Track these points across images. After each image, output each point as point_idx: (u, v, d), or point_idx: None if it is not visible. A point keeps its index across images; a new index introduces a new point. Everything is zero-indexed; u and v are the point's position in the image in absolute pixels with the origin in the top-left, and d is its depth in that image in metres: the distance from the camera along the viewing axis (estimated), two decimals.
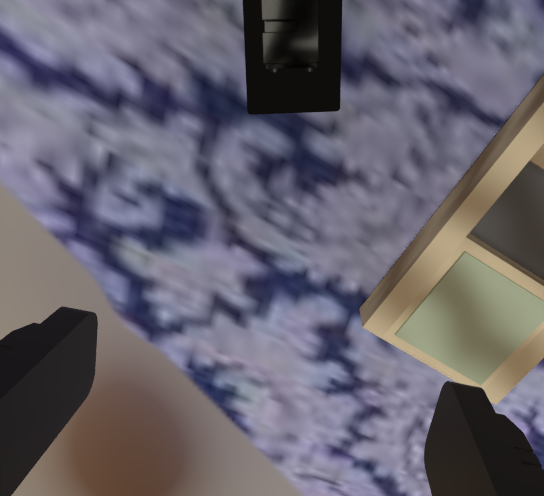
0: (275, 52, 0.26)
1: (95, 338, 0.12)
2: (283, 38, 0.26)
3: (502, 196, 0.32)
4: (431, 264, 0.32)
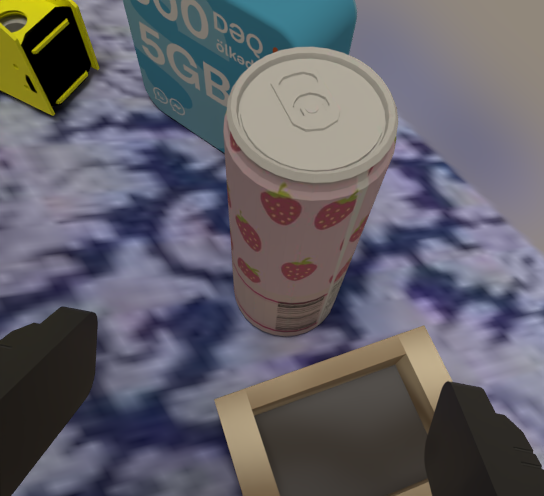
0: None
1: (95, 338, 0.12)
2: None
3: None
4: None
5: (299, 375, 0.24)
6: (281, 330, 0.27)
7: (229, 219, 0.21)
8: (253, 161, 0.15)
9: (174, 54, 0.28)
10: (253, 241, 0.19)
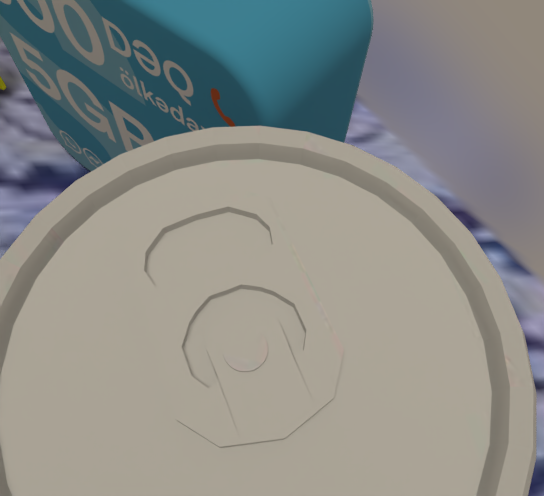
0: None
1: None
2: None
3: None
4: None
5: None
6: None
7: None
8: None
9: (69, 85, 0.17)
10: None
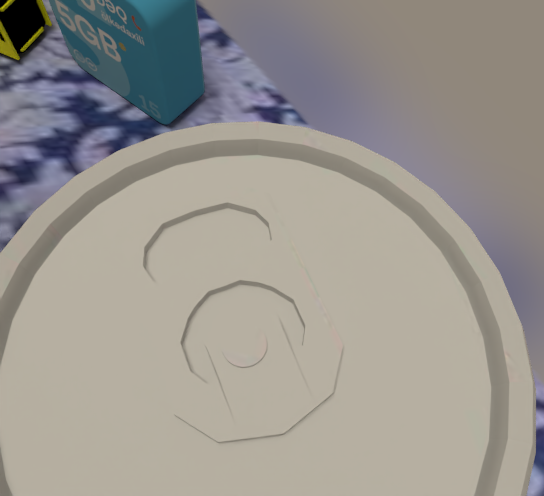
0: None
1: None
2: None
3: None
4: None
5: None
6: None
7: None
8: None
9: (80, 22, 0.39)
10: None
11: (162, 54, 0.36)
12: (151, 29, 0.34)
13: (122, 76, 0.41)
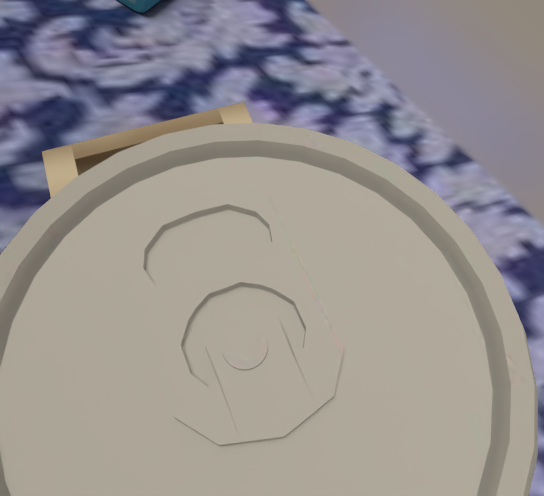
0: None
1: None
2: None
3: None
4: None
5: (122, 135, 0.27)
6: None
7: None
8: None
9: None
10: None
11: None
12: None
13: None
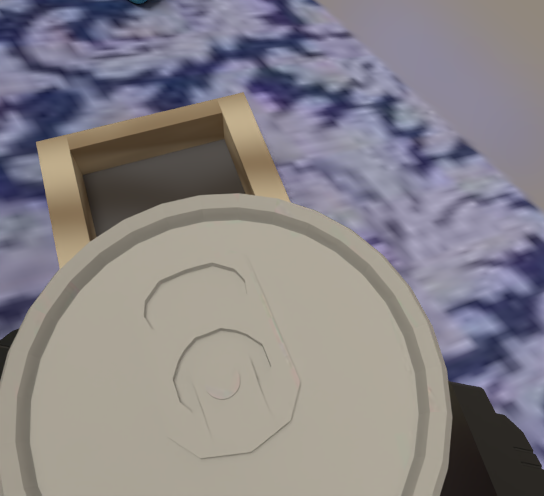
0: None
1: None
2: None
3: None
4: None
5: (119, 126, 0.27)
6: None
7: None
8: None
9: None
10: None
11: None
12: None
13: None
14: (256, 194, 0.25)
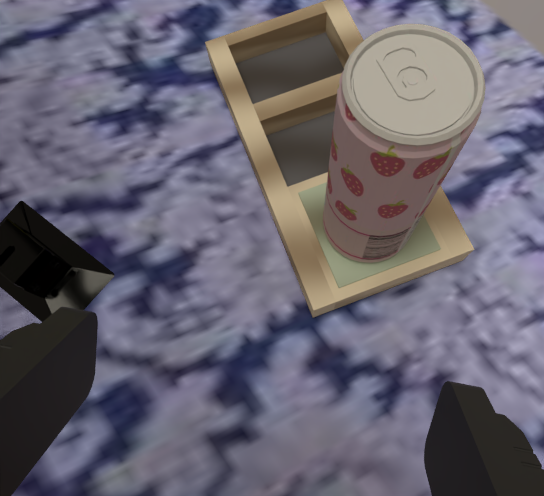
0: (14, 270, 0.32)
1: (95, 338, 0.12)
2: (12, 259, 0.33)
3: (288, 159, 0.38)
4: (292, 222, 0.34)
5: (257, 27, 0.39)
6: (367, 258, 0.31)
7: (329, 168, 0.26)
8: (367, 129, 0.19)
9: None
10: (356, 188, 0.23)
11: None
12: None
13: None
14: None
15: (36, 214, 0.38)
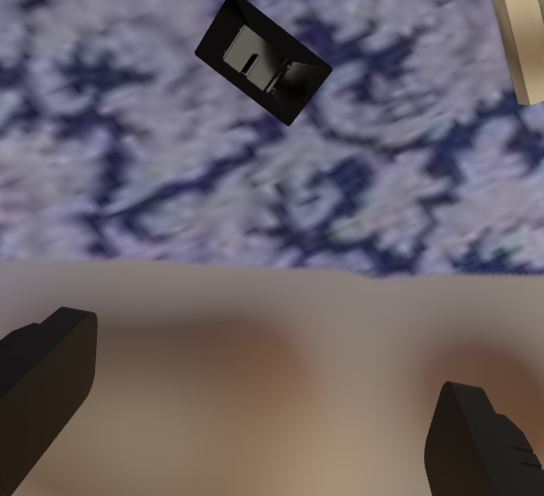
0: (262, 78, 0.37)
1: (95, 338, 0.12)
2: (258, 68, 0.36)
3: None
4: (524, 15, 0.35)
5: None
6: None
7: None
8: None
9: None
10: None
11: None
12: None
13: None
14: None
15: (249, 4, 0.39)
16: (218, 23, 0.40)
